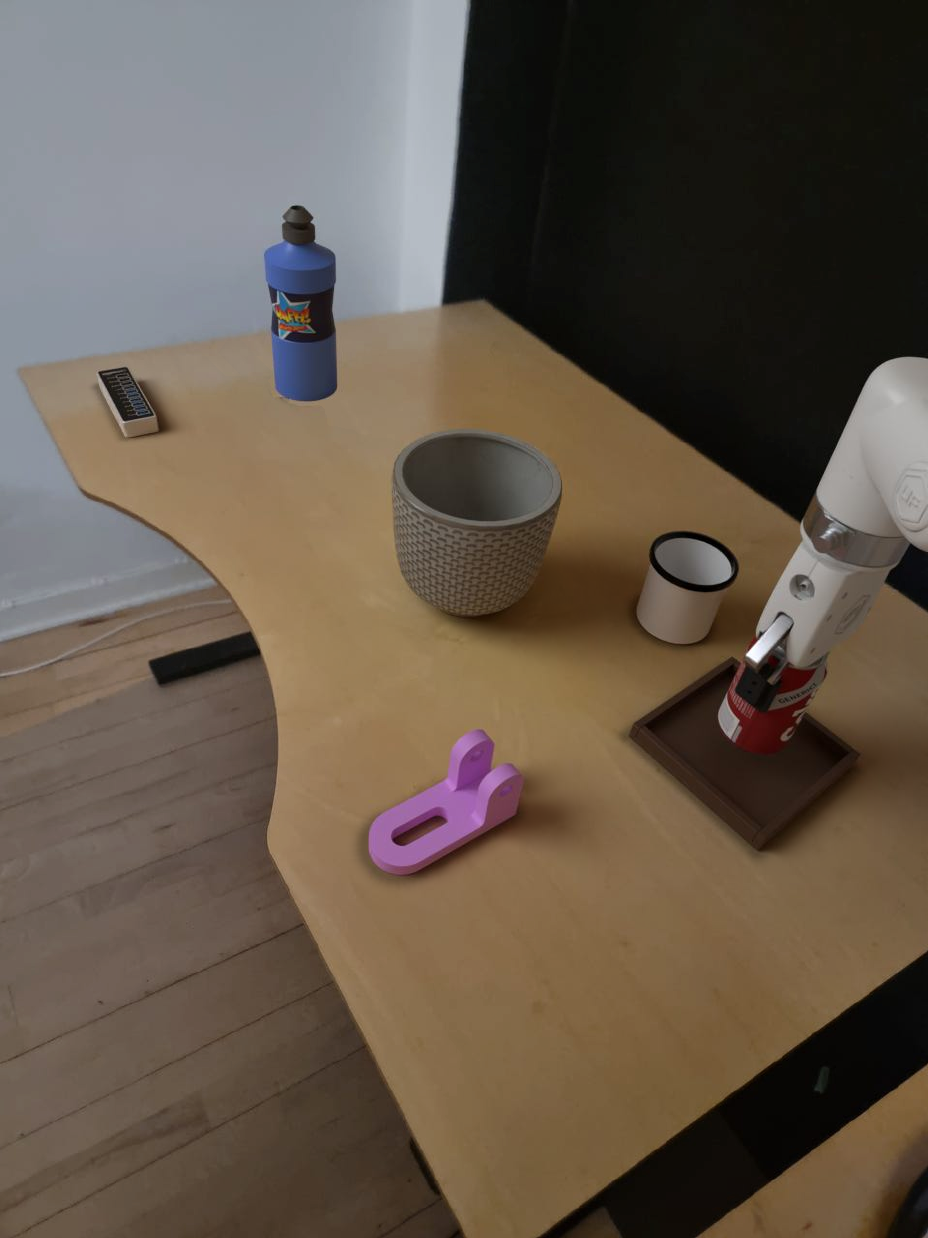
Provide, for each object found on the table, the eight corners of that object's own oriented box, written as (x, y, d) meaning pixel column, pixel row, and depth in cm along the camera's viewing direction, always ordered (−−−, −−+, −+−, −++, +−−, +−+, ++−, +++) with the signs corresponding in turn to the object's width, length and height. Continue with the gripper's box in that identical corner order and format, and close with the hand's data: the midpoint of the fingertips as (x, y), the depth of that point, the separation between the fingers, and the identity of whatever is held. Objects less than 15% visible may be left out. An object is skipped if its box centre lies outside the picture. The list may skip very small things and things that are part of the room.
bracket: (479, 770, 78) (487, 723, 74) (515, 814, 75) (526, 768, 71) (356, 835, 72) (356, 789, 68) (390, 886, 69) (393, 841, 65)
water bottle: (323, 407, 121) (316, 226, 104) (263, 393, 122) (246, 212, 105) (347, 377, 128) (345, 202, 110) (290, 364, 129) (279, 189, 112)
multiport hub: (125, 438, 111) (122, 422, 110) (99, 386, 120) (95, 371, 118) (159, 431, 113) (156, 416, 112) (130, 380, 122) (127, 365, 120)
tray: (852, 766, 83) (861, 753, 81) (757, 851, 75) (764, 839, 73) (726, 668, 91) (732, 655, 89) (628, 736, 83) (632, 723, 81)
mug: (664, 659, 91) (687, 597, 84) (614, 603, 97) (632, 541, 90) (748, 629, 95) (776, 568, 89) (696, 577, 101) (718, 516, 95)
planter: (432, 526, 104) (441, 410, 93) (562, 575, 99) (588, 460, 88) (358, 609, 92) (358, 488, 81) (502, 669, 88) (523, 550, 77)
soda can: (716, 752, 78) (759, 665, 70) (713, 698, 83) (752, 610, 75) (789, 766, 78) (841, 679, 70) (782, 710, 83) (829, 623, 74)
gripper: (836, 598, 57) (751, 757, 69) (960, 512, 66) (864, 667, 78) (747, 539, 61) (681, 699, 73) (874, 465, 70) (796, 620, 82)
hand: (776, 682), depth 76 cm, fingers closed on soda can, 6 cm apart
